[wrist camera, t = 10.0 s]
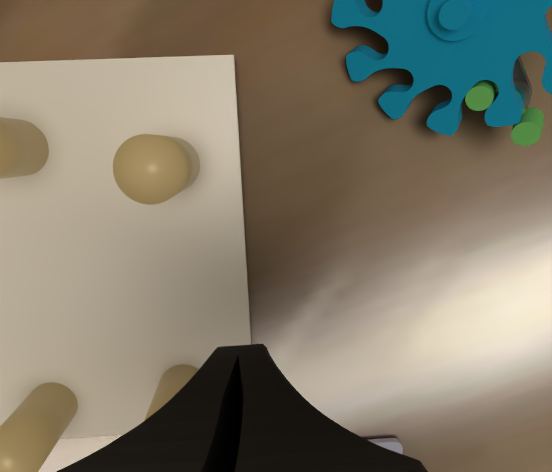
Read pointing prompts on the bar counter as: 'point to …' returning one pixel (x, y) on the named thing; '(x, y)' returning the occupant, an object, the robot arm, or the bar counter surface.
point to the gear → (457, 57)
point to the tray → (114, 242)
